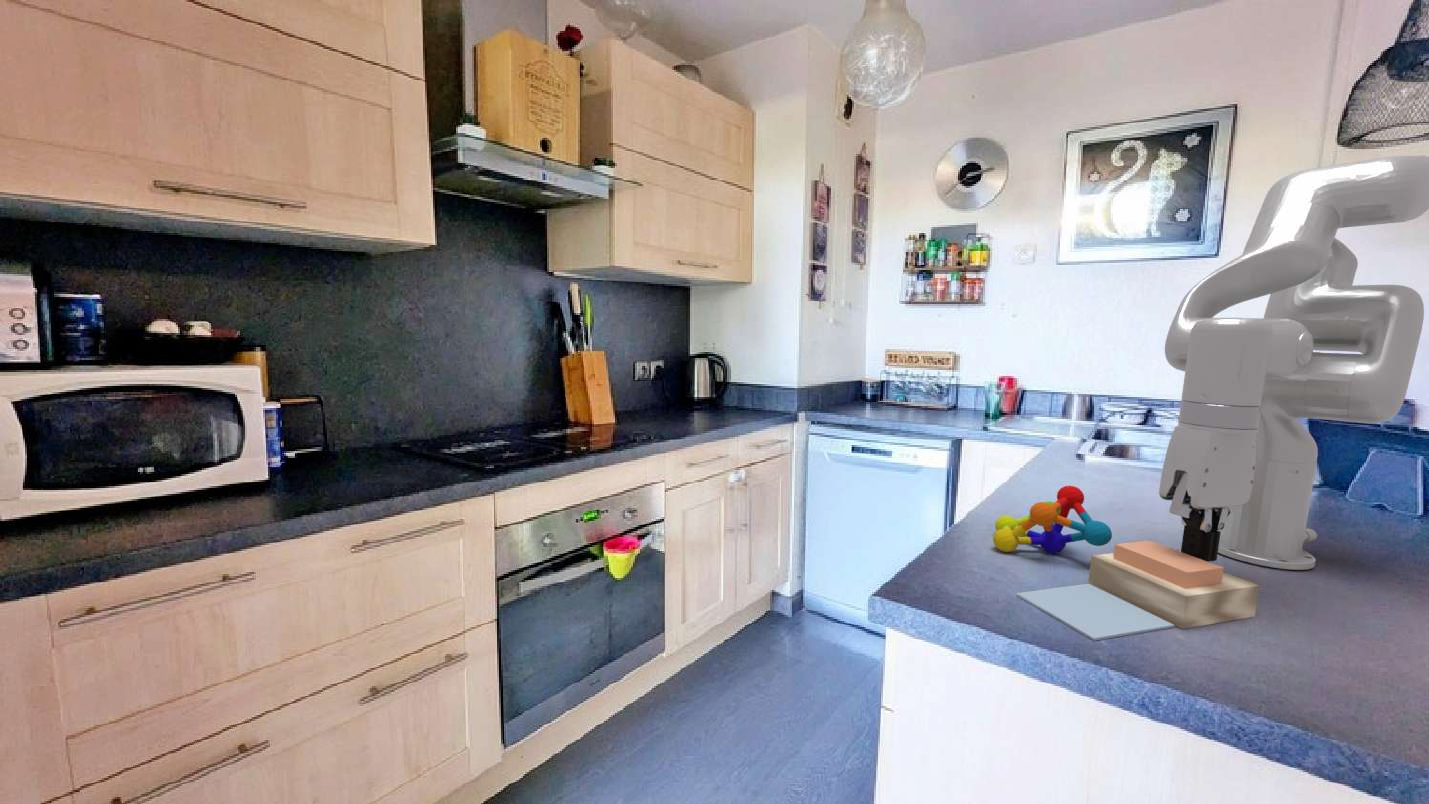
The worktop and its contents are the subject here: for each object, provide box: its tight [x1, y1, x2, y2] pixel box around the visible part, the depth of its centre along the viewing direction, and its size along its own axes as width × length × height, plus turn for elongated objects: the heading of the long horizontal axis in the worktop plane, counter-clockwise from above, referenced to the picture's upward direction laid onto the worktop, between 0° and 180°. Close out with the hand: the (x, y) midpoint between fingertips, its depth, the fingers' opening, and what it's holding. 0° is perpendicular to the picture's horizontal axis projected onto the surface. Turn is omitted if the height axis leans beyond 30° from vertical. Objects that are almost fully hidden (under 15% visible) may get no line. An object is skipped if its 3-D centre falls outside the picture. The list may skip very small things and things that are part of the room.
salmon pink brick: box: [1113, 540, 1225, 589], centre depth 72 cm, size 6×9×2 cm, turn 16°
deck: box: [1087, 552, 1260, 630], centre depth 73 cm, size 12×12×4 cm
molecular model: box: [992, 485, 1113, 554], centre depth 89 cm, size 15×10×15 cm
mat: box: [1015, 583, 1175, 642], centre depth 69 cm, size 12×11×1 cm
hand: (1198, 557), depth 73 cm, fingers closed
